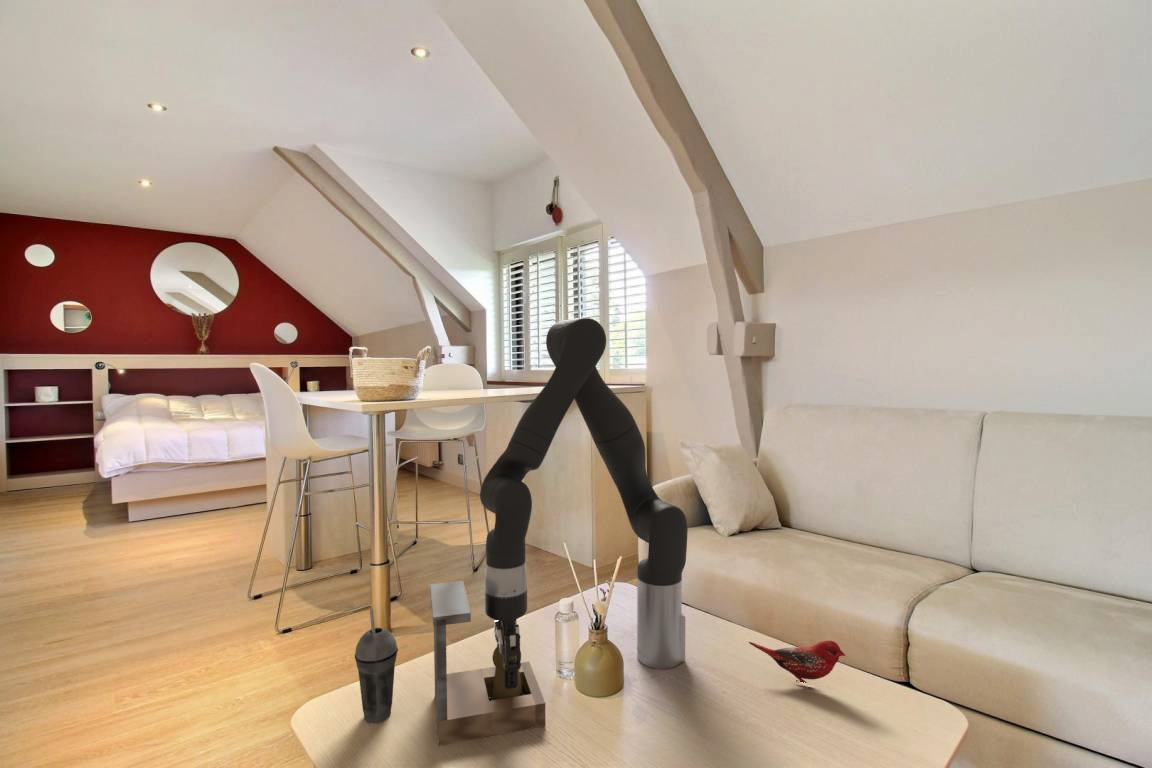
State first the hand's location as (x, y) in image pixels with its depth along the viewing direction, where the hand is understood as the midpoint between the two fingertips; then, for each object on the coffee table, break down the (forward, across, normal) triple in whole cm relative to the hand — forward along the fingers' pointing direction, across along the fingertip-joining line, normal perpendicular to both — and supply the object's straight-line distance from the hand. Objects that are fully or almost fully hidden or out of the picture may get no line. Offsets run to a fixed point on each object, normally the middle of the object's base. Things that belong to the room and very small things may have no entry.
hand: (506, 674), depth 104 cm
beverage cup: (+6, +4, +22) cm, 24 cm away
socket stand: (+6, 0, +4) cm, 7 cm away
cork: (+6, 0, 0) cm, 6 cm away
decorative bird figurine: (+6, -8, -55) cm, 56 cm away
